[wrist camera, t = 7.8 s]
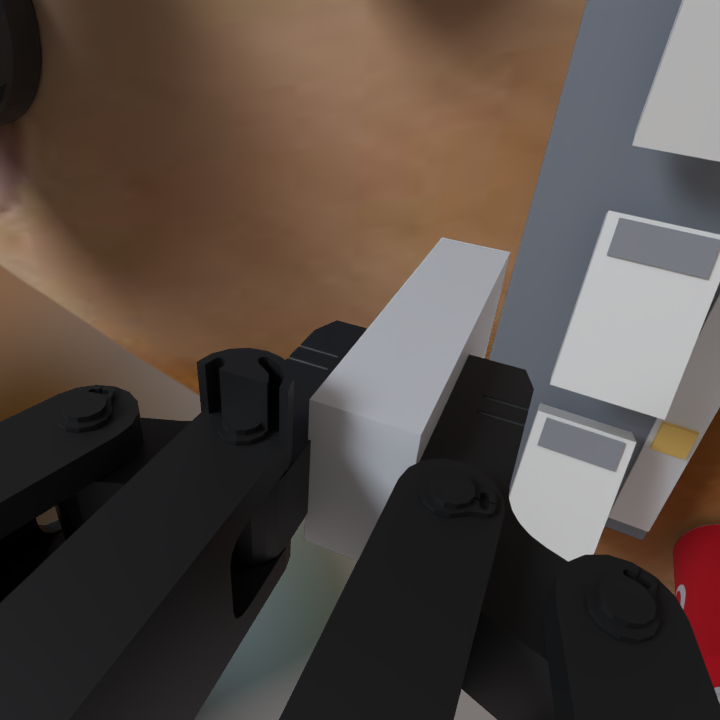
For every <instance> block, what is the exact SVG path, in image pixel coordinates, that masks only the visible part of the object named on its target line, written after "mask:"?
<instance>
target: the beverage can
mask: <svg viewBox="0 0 720 720" xmlns="http://www.w3.org/2000/svg"><path fill="white" fill-rule="evenodd" d="M673 560H674V579H675V597H676V598H677V600H678V601H679V603H680V605H681V607H682V609H683V610H684V612H685V614H686V616H687V617H688V619H689V621H690V624H691V627H692V629H693V632H694V635H695V638H696V640H697V643H698V646H699V648H700V651H701V654H702V657H703V659H704V662H705V665H706V668H707V670H708V673H709V676H710V679H711V681H712V684H713V687H714V689H715V692H716V695H717V698H718V700H719V703H720V524H709V525H704V526H700V527H697V528H694V529H692V530H690V531H688V532H686V533H685V534H684V535H682V536H681V537H680V539H679V540H678V541H677V542H676V544H675V547H674V551H673Z"/></svg>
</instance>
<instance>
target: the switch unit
mask: <svg viewBox="0 0 720 720" xmlns="http://www.w3.org/2000/svg"><path fill="white" fill-rule="evenodd" d="M681 2H682V0H587V2H586V6H585V10H584V13H583V17H582V21H581V24H580V28H579V32H578V35H577V39H576V43H575V46H574V50H573V54H572V57H571V61H570V65H569V68H568V72H567V76H566V79H565V83H564V87H563V90H562V94H561V97H560V101H559V105H558V108H557V112H556V116H555V119H554V123H553V127H552V130H551V134H550V138H549V141H548V145H547V149H546V152H545V156H544V160H543V163H542V167H541V171H540V174H539V178H538V182H537V185H536V189H535V193H534V196H533V200H532V204H531V207H530V211H529V215H528V218H527V222H526V226H525V229H524V233H523V236H522V240H521V244H520V247H519V251H518V255H517V258H516V262H515V266H514V269H513V273H512V277H511V280H510V284H509V288H508V291H507V295H506V299H505V302H504V306H503V310H502V313H501V317H500V321H499V324H498V328H497V332H496V335H495V339H494V343H493V346H492V350H491V354H490V357H489V360H492V361H495V362H499V363H503V364H507V365H510V366H514V367H518V368H521V369H525V370H526V371H527V374H528V376H529V378H530V381H531V383H532V386H533V388H534V391H533V395H532V399H531V403H530V407H529V411H528V415H527V419H526V423H525V427H524V431H523V435H522V439H521V443H520V447H519V451H518V455H517V459H516V463H515V467H514V471H513V475H512V479H511V483H510V489H509V491H511V488H512V485H513V482H514V479H515V476H516V473H517V470H518V467H519V464H520V461H521V458H522V455H523V452H524V449H525V446H526V443H527V440H528V437H529V434H530V431H531V428H532V425H533V422H534V419H535V416H536V413H537V410H538V407H539V404H540V403H542V404H545V405H548V406H551V407H554V408H557V409H560V410H564V411H567V412H570V413H573V414H576V415H579V416H582V417H585V418H588V419H592V420H595V421H598V422H601V423H604V424H607V425H610V426H613V427H617V428H620V429H623V430H626V431H629V432H632V433H633V436H634V438H635V440H636V442H637V443H636V445H635V448H634V450H633V453H632V456H631V458H630V461H629V463H628V466H627V469H626V471H625V474H624V476H623V479H622V482H621V484H620V487H619V490H618V492H617V495H616V497H615V500H614V503H613V505H612V508H611V510H610V513H609V516H608V518H607V521H606V523H605V527H607V528H610V529H613V530H616V531H618V532H621V533H624V534H626V535H629V536H632V537H635V538H637V539H640V540H643V539H644V537H645V535H646V533H647V532H649V530H650V529H651V527H652V525H653V523H654V522H655V520H656V518H657V516H658V515H659V513H660V511H661V509H662V508H663V506H664V504H665V502H666V501H667V499H668V497H669V495H670V494H671V492H672V490H673V488H674V487H675V485H676V483H677V481H678V480H679V478H680V476H681V474H682V472H683V471H684V469H685V467H686V465H687V464H688V462H689V460H690V458H691V457H692V455H693V453H694V451H695V450H696V448H697V446H698V444H699V443H700V441H701V439H702V437H703V436H704V434H705V432H706V430H707V429H708V427H709V425H710V423H711V422H712V420H713V418H714V416H715V415H716V413H717V411H718V409H719V408H720V282H719V285H718V287H717V290H716V292H715V295H714V298H713V300H712V303H711V305H710V308H709V310H708V313H707V315H706V318H705V320H704V323H703V325H702V328H701V330H700V333H699V335H698V338H697V340H696V343H695V345H694V348H693V350H692V353H691V355H690V358H689V360H688V363H687V365H686V368H685V371H684V373H683V376H682V378H681V381H680V383H679V386H678V388H677V391H676V393H675V396H674V398H673V401H672V403H671V406H670V408H669V411H668V413H667V416H666V418H665V420H663V419H660V418H657V417H653V416H650V415H647V414H644V413H641V412H637V411H634V410H631V409H628V408H624V407H621V406H618V405H615V404H611V403H608V402H605V401H602V400H599V399H595V398H592V397H589V396H586V395H582V394H579V393H576V392H573V391H570V390H566V389H563V388H560V387H557V386H553V385H550V381H551V376H552V373H553V370H554V367H555V364H556V361H557V358H558V355H559V352H560V349H561V346H562V343H563V340H564V337H565V334H566V331H567V328H568V325H569V322H570V319H571V316H572V313H573V310H574V307H575V304H576V301H577V298H578V296H579V293H580V290H581V287H582V284H583V281H584V278H585V275H586V272H587V269H588V266H589V263H590V260H591V257H592V254H593V251H594V248H595V245H596V242H597V239H598V236H599V233H600V230H601V227H602V224H603V221H604V219H605V216H606V213H607V212H608V211H614V212H618V213H623V214H628V215H632V216H637V217H641V218H646V219H650V220H655V221H660V222H664V223H669V224H673V225H678V226H682V227H687V228H692V229H696V230H701V231H705V232H710V233H714V234H719V235H720V162H719V161H713V160H708V159H702V158H697V157H692V156H686V155H681V154H676V153H670V152H665V151H659V150H654V149H649V148H643V147H638V146H632V144H633V140H634V136H635V132H636V128H637V125H638V122H639V120H640V117H641V114H642V111H643V108H644V106H645V103H646V100H647V97H648V94H649V92H650V89H651V86H652V83H653V80H654V78H655V75H656V72H657V69H658V66H659V64H660V61H661V58H662V55H663V52H664V50H665V47H666V44H667V41H668V38H669V36H670V33H671V30H672V27H673V24H674V22H675V19H676V16H677V13H678V10H679V8H680V5H681Z"/></svg>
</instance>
